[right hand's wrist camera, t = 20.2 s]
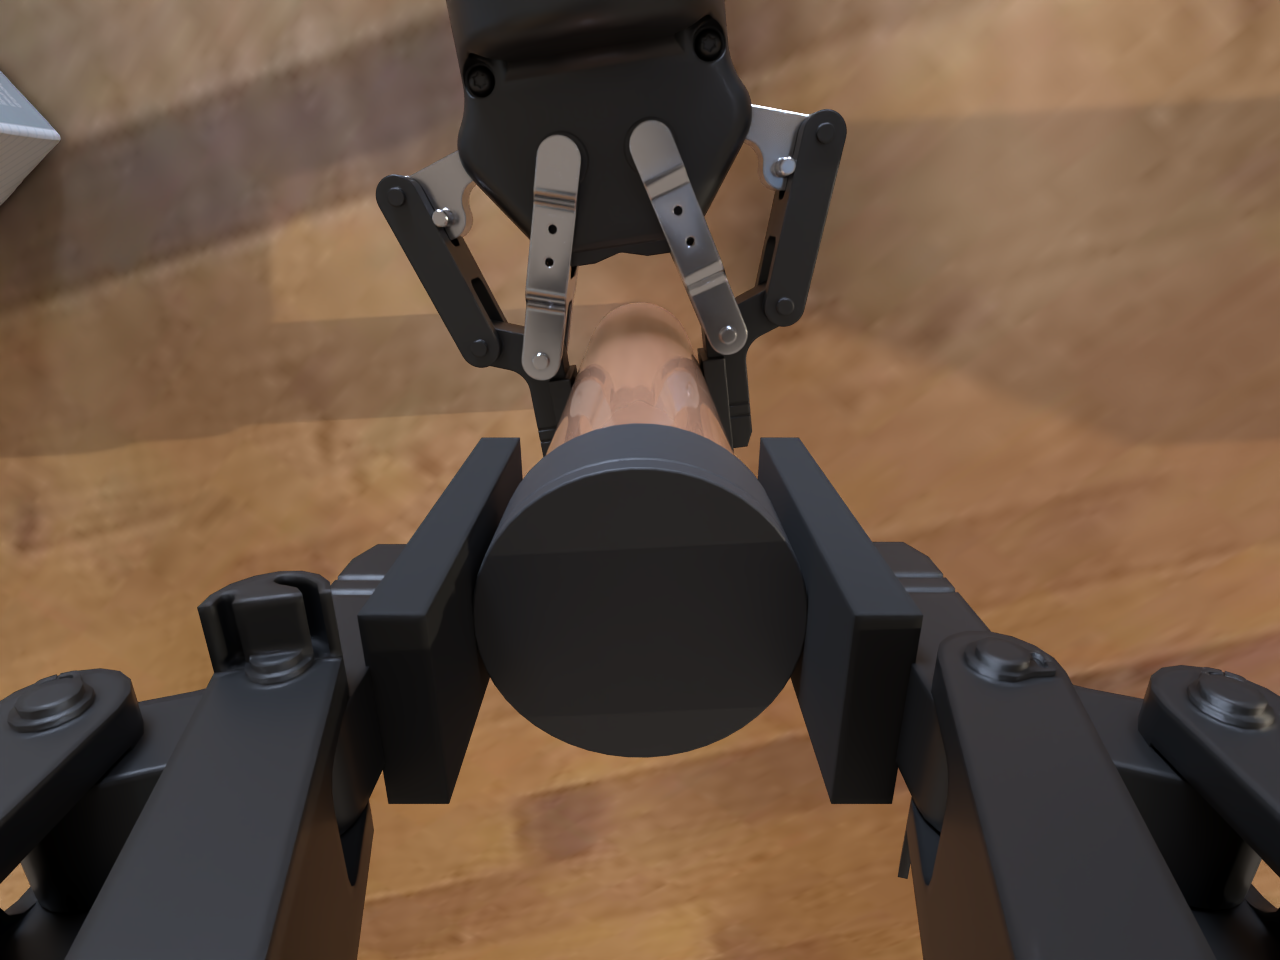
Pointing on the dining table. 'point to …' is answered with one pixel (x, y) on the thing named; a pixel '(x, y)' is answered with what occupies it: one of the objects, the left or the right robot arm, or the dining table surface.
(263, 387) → the dining table surface
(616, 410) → the brown cylinder
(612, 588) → the lid
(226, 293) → the dining table surface
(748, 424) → the left robot arm
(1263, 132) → the dining table surface
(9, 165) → the hard drive box
